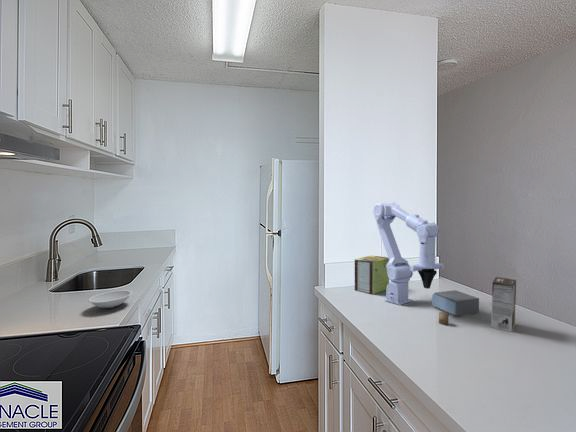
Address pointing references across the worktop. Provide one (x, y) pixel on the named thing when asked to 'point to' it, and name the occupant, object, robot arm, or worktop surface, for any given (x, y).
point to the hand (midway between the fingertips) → (426, 287)
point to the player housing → (461, 302)
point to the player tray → (444, 304)
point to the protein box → (371, 274)
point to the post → (443, 318)
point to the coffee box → (503, 304)
